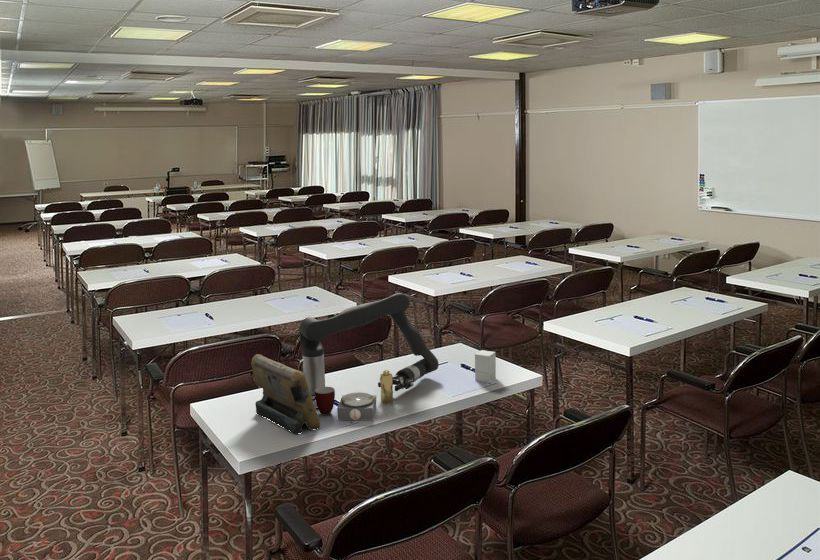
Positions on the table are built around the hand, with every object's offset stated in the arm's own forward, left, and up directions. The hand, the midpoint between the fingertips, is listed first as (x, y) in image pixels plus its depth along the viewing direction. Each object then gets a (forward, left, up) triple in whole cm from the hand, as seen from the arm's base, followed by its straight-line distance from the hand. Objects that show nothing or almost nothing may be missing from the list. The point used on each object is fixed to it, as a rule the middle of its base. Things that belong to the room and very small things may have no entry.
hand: (387, 386), depth 284 cm
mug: (-25, -13, -7) cm, 29 cm away
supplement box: (+43, +28, -7) cm, 51 cm away
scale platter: (-11, -12, -1) cm, 17 cm away
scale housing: (-11, -12, -7) cm, 18 cm away
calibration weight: (0, 0, -7) cm, 7 cm away
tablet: (-39, -20, -7) cm, 44 cm away
